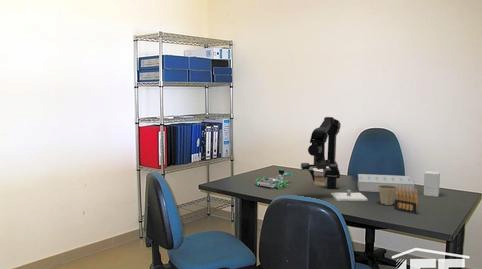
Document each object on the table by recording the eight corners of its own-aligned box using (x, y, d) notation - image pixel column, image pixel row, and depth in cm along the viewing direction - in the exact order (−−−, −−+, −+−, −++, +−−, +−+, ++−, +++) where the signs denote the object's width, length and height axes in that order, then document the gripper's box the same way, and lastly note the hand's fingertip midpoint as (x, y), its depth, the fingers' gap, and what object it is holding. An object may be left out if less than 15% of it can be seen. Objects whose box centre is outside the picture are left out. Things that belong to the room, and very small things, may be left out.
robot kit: (300, 184, 258) (300, 169, 257) (276, 191, 239) (276, 175, 239) (276, 180, 270) (276, 165, 269) (251, 186, 252) (251, 171, 251)
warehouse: (358, 191, 239) (359, 178, 238) (357, 186, 253) (357, 173, 252) (414, 194, 232) (415, 181, 231) (410, 188, 246) (410, 176, 245)
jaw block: (312, 182, 227) (312, 175, 227) (321, 182, 227) (322, 175, 227) (315, 185, 220) (315, 178, 220) (324, 185, 220) (324, 178, 220)
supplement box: (439, 194, 231) (440, 171, 229) (438, 197, 224) (439, 174, 223) (424, 192, 234) (425, 170, 233) (423, 195, 228) (424, 172, 227)
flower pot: (373, 202, 214) (373, 185, 213) (388, 200, 217) (388, 184, 216) (385, 206, 205) (386, 189, 204) (400, 205, 208) (401, 188, 207)
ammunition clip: (417, 213, 194) (419, 188, 193) (416, 214, 193) (417, 188, 192) (395, 208, 202) (396, 184, 200) (394, 209, 200) (395, 185, 199)
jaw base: (331, 194, 230) (331, 187, 229) (360, 194, 230) (360, 187, 230) (336, 200, 217) (336, 193, 216) (367, 200, 217) (367, 193, 217)
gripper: (304, 155, 214) (303, 185, 216) (340, 155, 214) (339, 185, 216) (300, 152, 225) (300, 180, 227) (335, 152, 225) (334, 180, 227)
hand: (318, 182), depth 224 cm, fingers closed on jaw block, 5 cm apart
